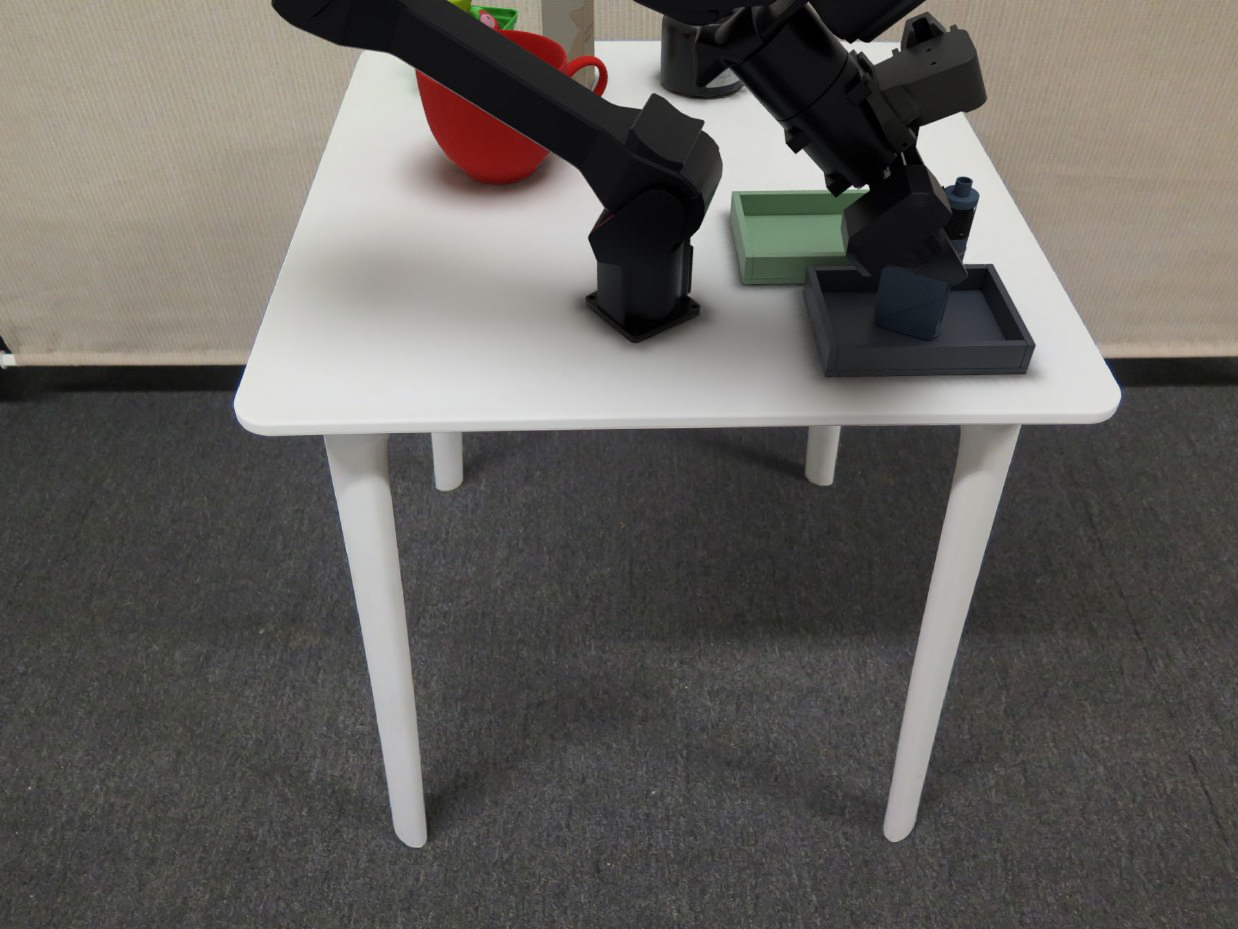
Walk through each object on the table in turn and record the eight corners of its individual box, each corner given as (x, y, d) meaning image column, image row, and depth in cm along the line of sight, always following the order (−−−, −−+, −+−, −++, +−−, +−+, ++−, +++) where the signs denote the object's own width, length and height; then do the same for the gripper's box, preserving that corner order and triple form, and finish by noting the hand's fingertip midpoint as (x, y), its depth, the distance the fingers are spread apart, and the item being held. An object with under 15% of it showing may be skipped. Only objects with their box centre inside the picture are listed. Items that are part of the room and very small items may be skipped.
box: (585, 99, 103) (582, -15, 96) (544, 95, 104) (538, -18, 96) (596, 78, 107) (594, -33, 99) (556, 75, 108) (551, -36, 100)
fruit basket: (490, 100, 103) (479, -16, 95) (409, 92, 105) (391, -24, 97) (524, 57, 111) (516, -54, 103) (447, 49, 113) (434, -60, 105)
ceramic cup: (631, 180, 91) (632, 69, 84) (447, 213, 87) (432, 99, 80) (585, 119, 100) (583, 15, 93) (416, 147, 96) (400, 40, 89)
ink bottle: (729, 106, 102) (739, -19, 94) (646, 93, 104) (649, -31, 96) (755, 69, 109) (766, -51, 100) (677, 57, 111) (681, -61, 103)
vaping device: (937, 345, 73) (978, 193, 64) (867, 324, 74) (898, 174, 66) (947, 326, 74) (989, 176, 66) (878, 306, 76) (910, 157, 68)
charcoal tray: (824, 376, 71) (829, 348, 69) (802, 293, 78) (806, 265, 76) (1026, 373, 71) (1036, 344, 69) (984, 291, 78) (993, 263, 77)
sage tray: (743, 284, 79) (745, 256, 77) (729, 217, 86) (731, 190, 85) (923, 282, 79) (930, 254, 78) (895, 215, 87) (900, 188, 85)
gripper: (950, 54, 51) (1100, 250, 59) (900, -62, 65) (1027, 109, 72) (777, 190, 57) (933, 353, 64) (764, 58, 71) (894, 205, 78)
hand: (950, 246), depth 69 cm, fingers open, 8 cm apart
